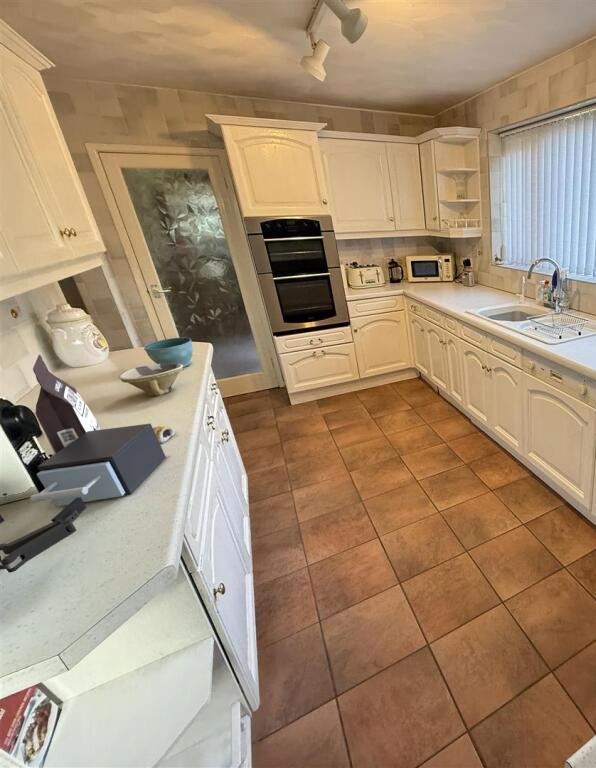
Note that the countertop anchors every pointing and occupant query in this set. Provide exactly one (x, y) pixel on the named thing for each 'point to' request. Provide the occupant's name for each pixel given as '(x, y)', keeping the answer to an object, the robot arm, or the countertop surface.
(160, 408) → the countertop surface
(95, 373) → the countertop surface
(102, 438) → the drawer cabinet
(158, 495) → the countertop surface
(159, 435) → the pastry
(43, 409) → the protein powder
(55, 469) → the light blue drawer
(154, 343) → the teal blue bowl
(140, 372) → the bowl
